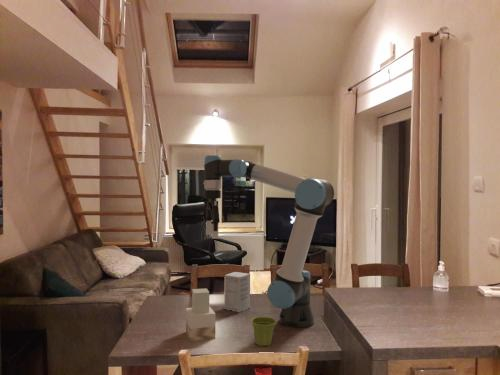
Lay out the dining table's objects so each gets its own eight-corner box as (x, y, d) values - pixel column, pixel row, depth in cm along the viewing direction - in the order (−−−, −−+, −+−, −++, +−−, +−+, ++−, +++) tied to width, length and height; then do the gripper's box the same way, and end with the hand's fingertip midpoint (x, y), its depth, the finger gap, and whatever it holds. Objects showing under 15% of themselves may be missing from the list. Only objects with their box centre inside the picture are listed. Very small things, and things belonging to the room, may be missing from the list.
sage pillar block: (206, 307, 165) (206, 288, 165) (209, 312, 160) (209, 292, 159) (191, 308, 164) (192, 289, 164) (194, 313, 158) (194, 293, 158)
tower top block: (209, 318, 168) (209, 306, 168) (215, 326, 158) (215, 313, 158) (185, 320, 165) (185, 308, 165) (189, 328, 155) (190, 315, 155)
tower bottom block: (210, 330, 168) (210, 318, 168) (215, 339, 158) (215, 326, 158) (186, 332, 165) (186, 320, 165) (189, 341, 155) (189, 328, 155)
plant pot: (258, 336, 160) (258, 315, 160) (279, 341, 156) (280, 319, 156) (246, 344, 152) (246, 322, 152) (268, 350, 148) (268, 326, 147)
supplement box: (250, 308, 198) (251, 273, 198) (240, 313, 190) (240, 277, 190) (234, 304, 203) (235, 271, 203) (223, 309, 195) (224, 274, 195)
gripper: (199, 189, 194) (199, 233, 194) (209, 190, 170) (209, 240, 170) (214, 189, 196) (214, 232, 196) (226, 190, 172) (226, 239, 172)
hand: (211, 236), depth 183 cm, fingers open, 13 cm apart
